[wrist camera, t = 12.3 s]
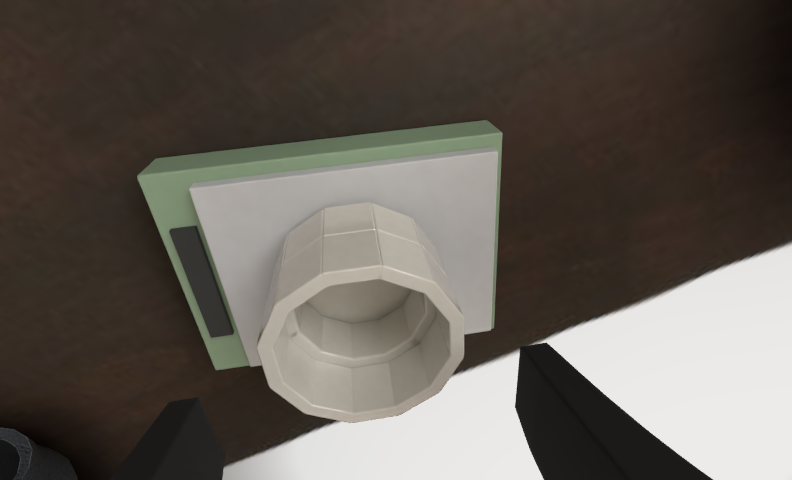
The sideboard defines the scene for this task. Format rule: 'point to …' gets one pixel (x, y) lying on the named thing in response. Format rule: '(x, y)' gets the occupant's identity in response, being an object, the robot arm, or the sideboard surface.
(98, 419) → the sideboard surface
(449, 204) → the scale
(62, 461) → the mug
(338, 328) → the bowl
